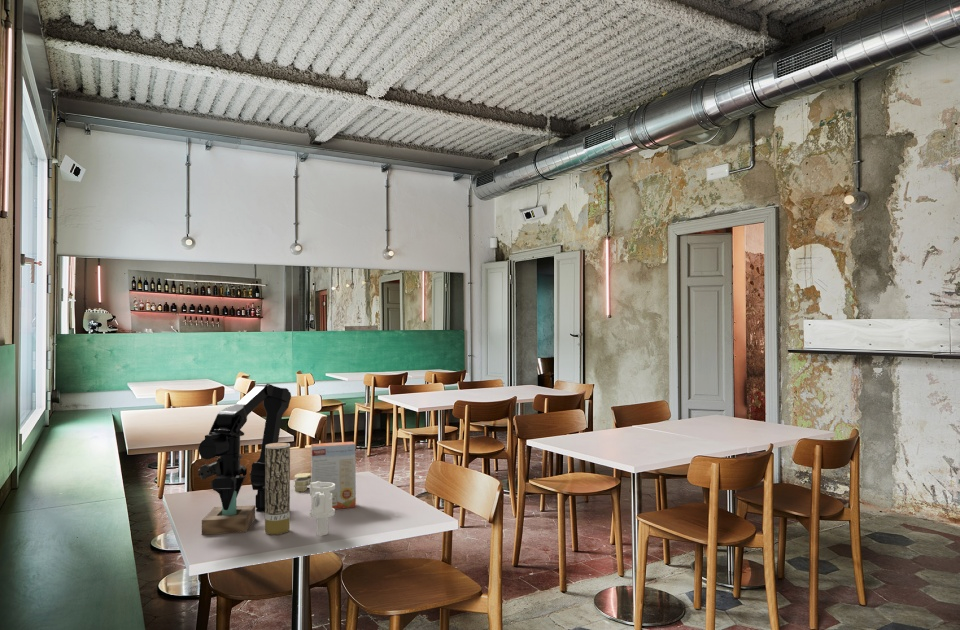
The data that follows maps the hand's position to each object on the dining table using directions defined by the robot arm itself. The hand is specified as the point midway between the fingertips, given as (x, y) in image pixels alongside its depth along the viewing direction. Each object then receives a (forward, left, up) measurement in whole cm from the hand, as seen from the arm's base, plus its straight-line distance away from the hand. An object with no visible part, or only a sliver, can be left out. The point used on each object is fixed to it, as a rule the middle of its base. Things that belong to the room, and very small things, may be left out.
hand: (229, 505), depth 192 cm
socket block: (0, 0, -6) cm, 6 cm away
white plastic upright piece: (-28, +12, -6) cm, 31 cm away
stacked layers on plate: (-16, -43, -7) cm, 46 cm away
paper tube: (-15, +8, -6) cm, 18 cm away
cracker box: (-29, -16, -6) cm, 34 cm away
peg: (0, 0, -6) cm, 6 cm away
